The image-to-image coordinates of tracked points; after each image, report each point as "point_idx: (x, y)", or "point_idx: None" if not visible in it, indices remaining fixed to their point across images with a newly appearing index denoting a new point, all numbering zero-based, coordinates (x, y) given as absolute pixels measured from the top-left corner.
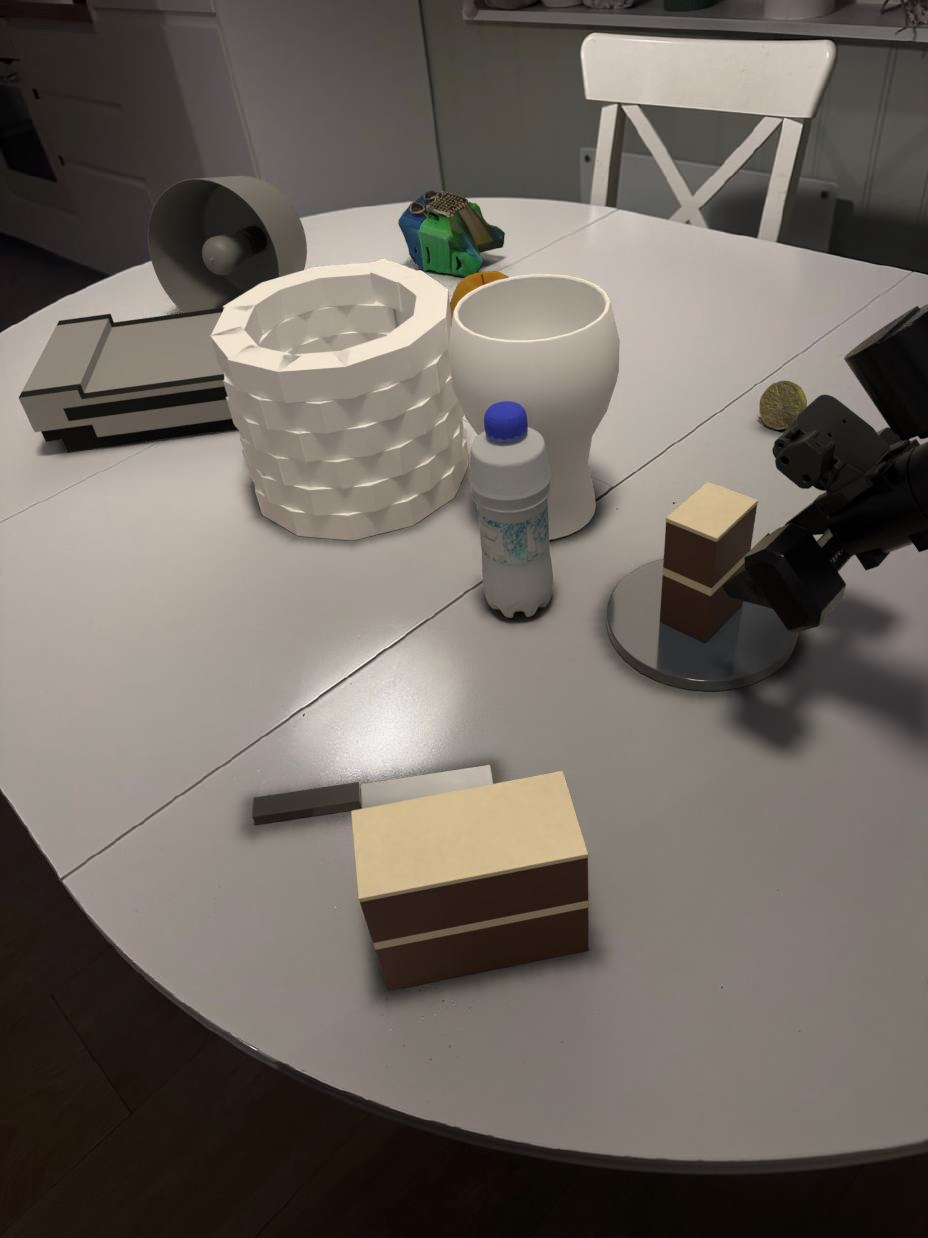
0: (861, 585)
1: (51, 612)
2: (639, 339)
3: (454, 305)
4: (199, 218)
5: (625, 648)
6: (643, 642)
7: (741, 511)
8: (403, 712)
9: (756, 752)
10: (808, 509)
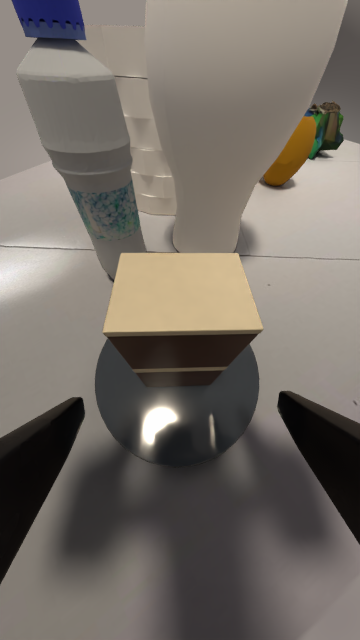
0: None
1: (34, 173)
2: (357, 207)
3: None
4: None
5: (108, 339)
6: None
7: (208, 324)
8: (13, 276)
9: (45, 522)
10: (344, 438)
